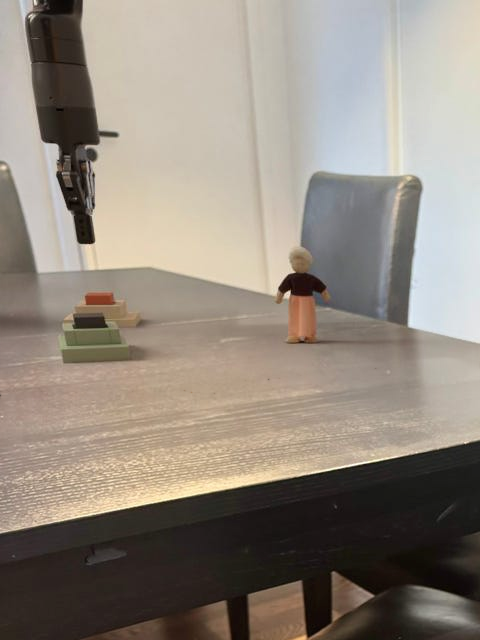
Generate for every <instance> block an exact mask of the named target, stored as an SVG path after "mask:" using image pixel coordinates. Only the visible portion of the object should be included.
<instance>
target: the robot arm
mask: <svg viewBox="0 0 480 640" xmlns="http://www.w3.org/2000/svg"><path fill="white" fill-rule="evenodd" d="M31 2H32V10H31V11H29V12H27V13H26V15H25V17H24V31H25V37H26V45H27V51H28V56H29V62H30V72H31V74H30V75H31V87H32V92H33V99H34V104H35V109H36V110H35V111H36V117H37V124H38V129H39V135H40V140H41V141H42V142H43V144H51V145H57V146H58V159H56V160H55V161H56V163H55V164H56V173H55V178H56V179H57V182H58V185H59V189H60V192H61V194H62V197H63V200H64V204H65V207H66V208H67V211H68V212H70V214H71V216H72V217H73V222H74V223H73V224H74V229H75V235H76V242H77V243H78V244H79V245H93V244H95V243H96V234H95V228H94V221H93V215H94V210H95V208H96V187H95V186H96V173H95V172H94V167H93V162H92V160H89V158H88V155H87V150H86V147H87V146H99V145H100V143H101V137H100V131H99V124H98V123H99V122H98V116H97V108H96V103H95V102H96V101H95V95H94V88H93V83H92V80H91V76H90V72H89V66H88V59H87V52H86V45H85V38H84V33H83V18H84V17H83V16H84V0H32V1H31Z"/></svg>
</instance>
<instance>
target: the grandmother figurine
mask: <svg viewBox="0 0 480 640" xmlns="http://www.w3.org/2000/svg"><path fill="white" fill-rule="evenodd" d="M288 260H289V264H290V266H291V269H292V270H293V272H292V273H288V274H287V275H285V277H284V278H283V279H282V281H281V282H280V284H279V286H278V287H277V291H276V295H275V297H274V302H275V304H277V305H279V304H281V303H282V302H283V298H284V297H285V294H286V293H288V292H289V293H290V295H289V297H288V335H289V336H287V337H286V340H285V342H286V343H289V344H296V343H300V342H301V339H300V338H303V342H304V343H307V344H309V343H311V344H312V343H313V344H316V343H319V340H318V339H317V337H316V335H317V312H316V311H317V310H316V300H315V296H314V292H315V293H317V294H320V296H321V297H322V300H323V301H324V303H330V302H331V295H330V294H329V292H328V289H327V285H326V284H325V283H324V282H323V281H322V279H320V278H319V277H317V276H315V275H314V274H312V273H307V272H309V270H310V267H311V266H312V264H313V261H314V258H313V256H312V255H311V253H310V251H309V250H307V248H306V247H303V246H301V245H296V246H292V247H291V248H290V250H289V253H288Z"/></svg>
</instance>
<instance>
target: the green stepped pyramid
mask: <svg viewBox="0 0 480 640" xmlns="http://www.w3.org/2000/svg"><path fill="white" fill-rule="evenodd" d="M105 323H106V328H91V329H75V325H74V323H64V322H62V323H61V326H62V327H61V328H62V332H63V334H58V335H57V339H58V345H59V351H60V354H61V359H62V363H63V364H73V363H89V362H90V363H93V362H115V361H131V360H132V355H131V354H132V353H131V349H130V345H129V343H128V342H127V340H126V338H125V336H124V335H123V333H122V332H121V331H120V328H118V326H117V325H116V323H115V321H111V322H105Z"/></svg>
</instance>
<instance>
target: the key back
mask: <svg viewBox="0 0 480 640" xmlns="http://www.w3.org/2000/svg"><path fill="white" fill-rule="evenodd" d="M84 301H86V305H114V304H115V302H114V301H115V295H114V292H87V293H86V294H85V295H84Z"/></svg>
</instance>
